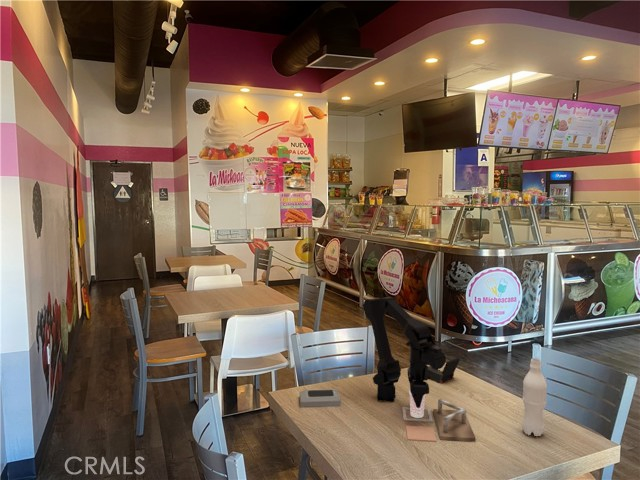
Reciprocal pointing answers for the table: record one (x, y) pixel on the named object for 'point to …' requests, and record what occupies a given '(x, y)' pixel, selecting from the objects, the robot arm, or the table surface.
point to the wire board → (453, 423)
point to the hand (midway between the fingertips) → (417, 402)
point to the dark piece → (449, 370)
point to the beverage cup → (413, 409)
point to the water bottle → (534, 399)
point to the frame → (417, 419)
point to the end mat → (420, 433)
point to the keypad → (319, 398)
